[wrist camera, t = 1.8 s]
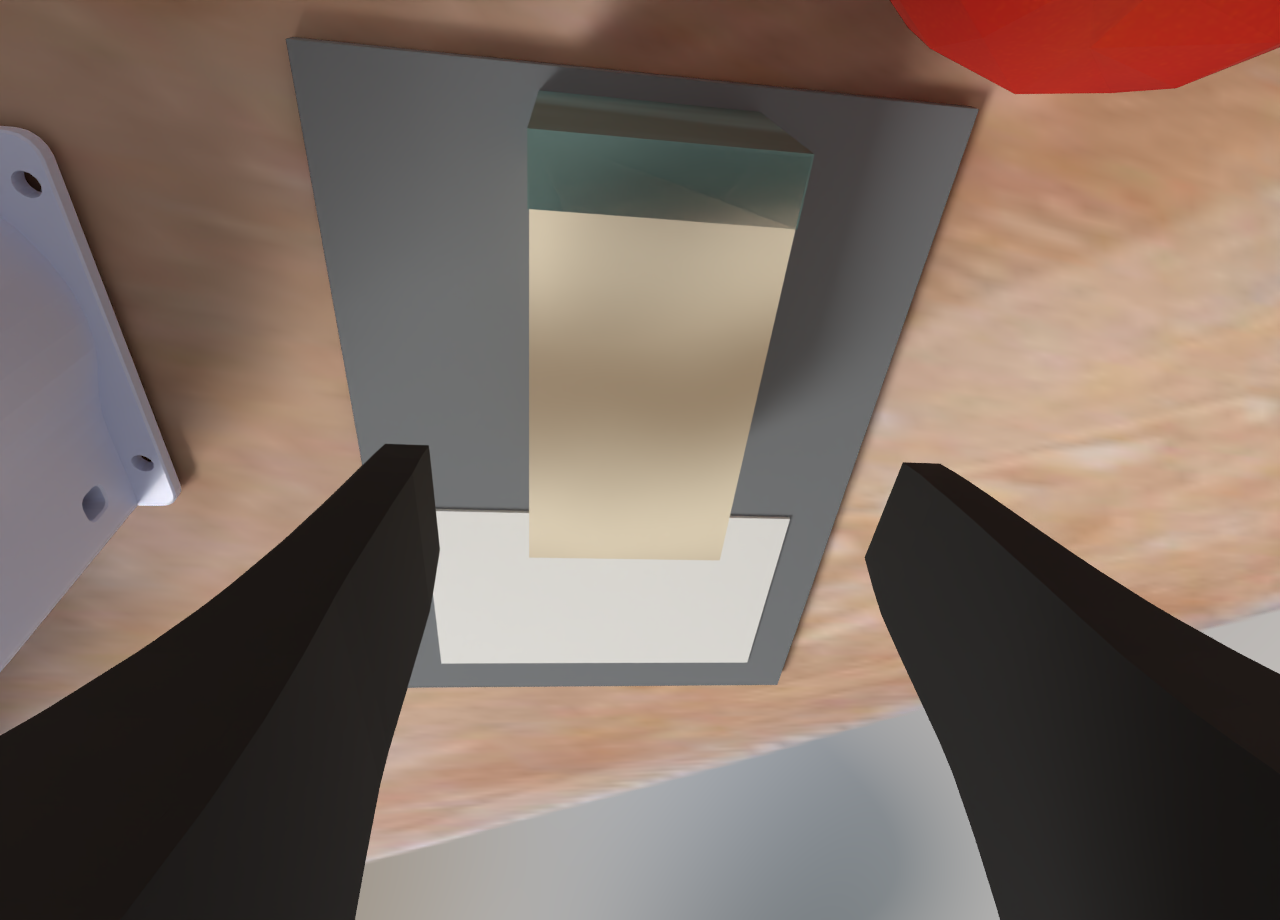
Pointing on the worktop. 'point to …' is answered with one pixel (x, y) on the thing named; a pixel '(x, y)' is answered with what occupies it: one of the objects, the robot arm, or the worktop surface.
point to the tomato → (1094, 40)
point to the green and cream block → (649, 316)
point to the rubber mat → (499, 353)
